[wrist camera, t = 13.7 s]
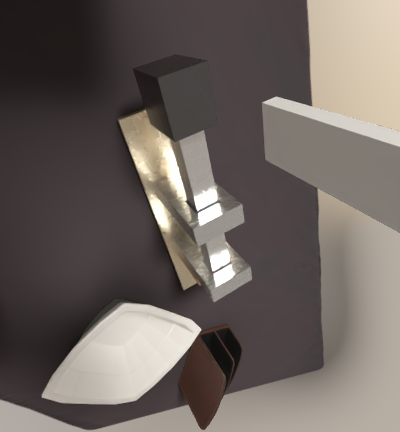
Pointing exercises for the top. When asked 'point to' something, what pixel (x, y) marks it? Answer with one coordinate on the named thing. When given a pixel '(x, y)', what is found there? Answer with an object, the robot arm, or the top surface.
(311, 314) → the top surface
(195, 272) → the frame
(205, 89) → the shaft
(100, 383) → the bowl
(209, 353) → the letter holder
